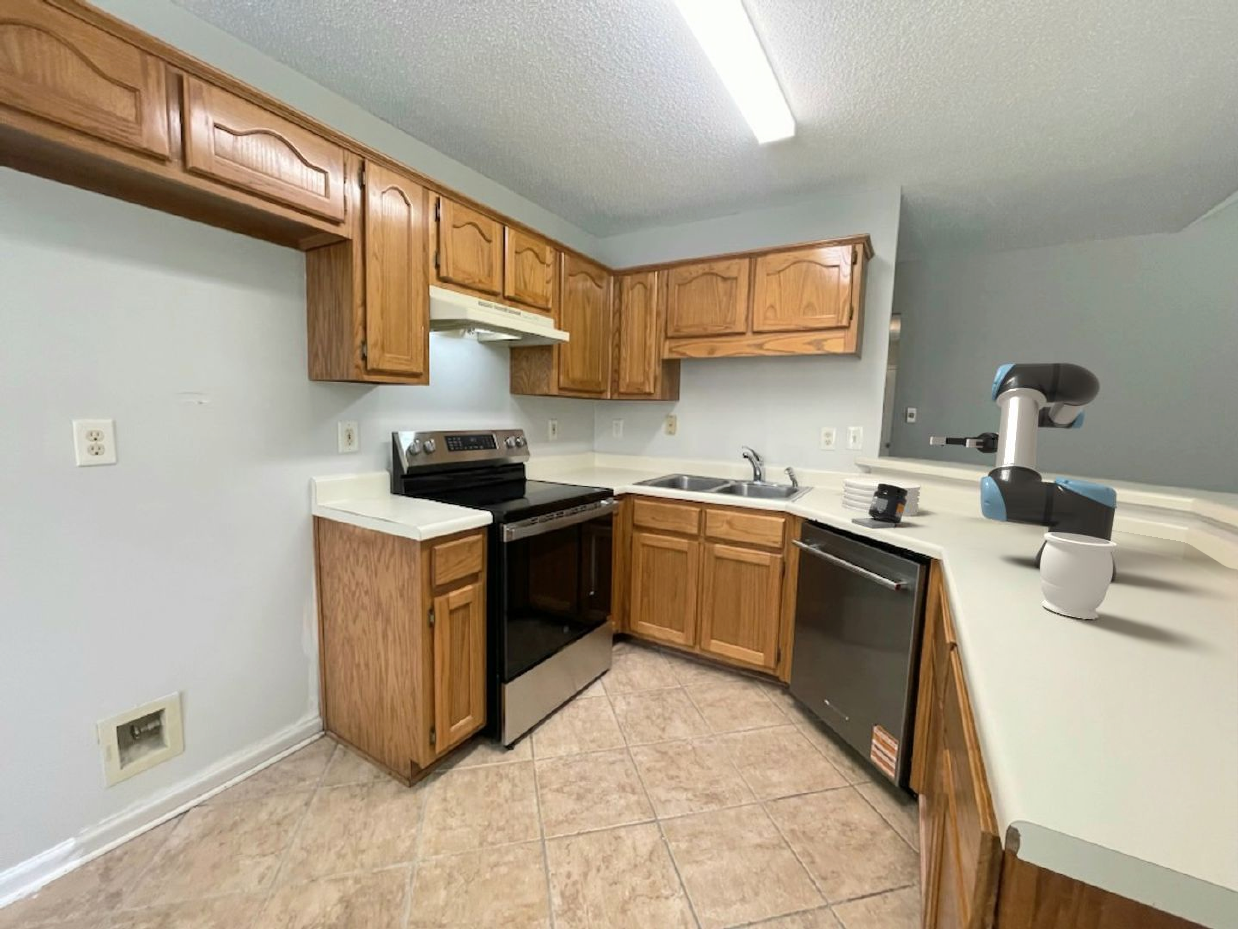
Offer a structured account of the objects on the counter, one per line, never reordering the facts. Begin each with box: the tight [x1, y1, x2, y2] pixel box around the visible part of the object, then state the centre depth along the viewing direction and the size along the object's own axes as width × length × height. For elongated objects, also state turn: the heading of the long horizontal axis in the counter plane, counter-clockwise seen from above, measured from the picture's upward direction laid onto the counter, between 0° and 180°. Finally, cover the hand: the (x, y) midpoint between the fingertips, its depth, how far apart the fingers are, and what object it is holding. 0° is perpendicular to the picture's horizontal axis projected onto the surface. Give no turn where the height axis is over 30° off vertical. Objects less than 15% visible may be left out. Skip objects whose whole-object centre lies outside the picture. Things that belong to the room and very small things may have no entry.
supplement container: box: [867, 484, 908, 524], centre depth 174 cm, size 10×10×12 cm
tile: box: [851, 517, 896, 530], centre depth 172 cm, size 2×9×10 cm
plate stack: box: [841, 477, 921, 517], centre depth 203 cm, size 28×28×12 cm
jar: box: [1039, 532, 1117, 620], centre depth 96 cm, size 11×10×15 cm
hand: (948, 441), depth 172 cm, fingers open, 13 cm apart
